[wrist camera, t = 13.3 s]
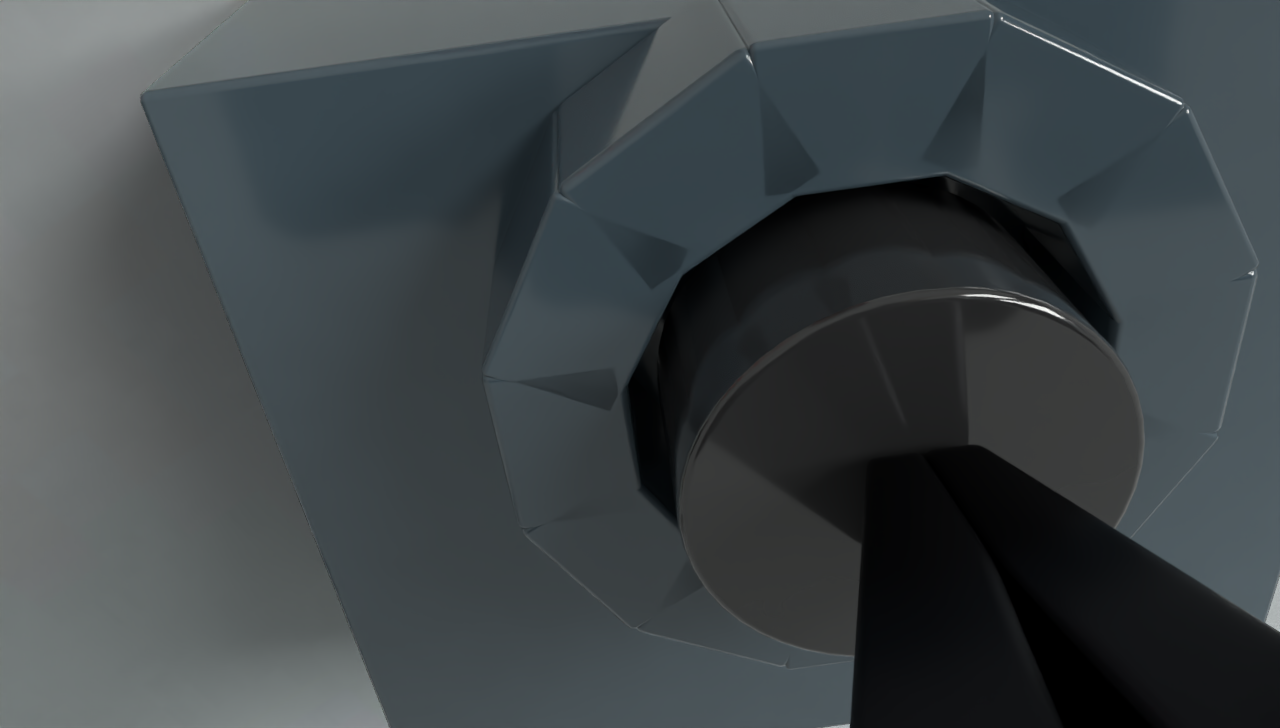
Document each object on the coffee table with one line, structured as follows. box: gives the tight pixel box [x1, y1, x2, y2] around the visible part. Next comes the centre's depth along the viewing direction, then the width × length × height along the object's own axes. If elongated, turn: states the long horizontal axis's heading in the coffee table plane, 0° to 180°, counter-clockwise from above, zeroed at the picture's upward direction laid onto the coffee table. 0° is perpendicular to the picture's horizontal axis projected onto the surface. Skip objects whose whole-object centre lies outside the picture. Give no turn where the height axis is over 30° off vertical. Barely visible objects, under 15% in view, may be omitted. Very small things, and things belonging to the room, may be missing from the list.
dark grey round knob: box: [656, 181, 1145, 657], centre depth 8 cm, size 4×4×2 cm
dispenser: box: [140, 0, 1280, 728], centre depth 12 cm, size 12×10×6 cm
